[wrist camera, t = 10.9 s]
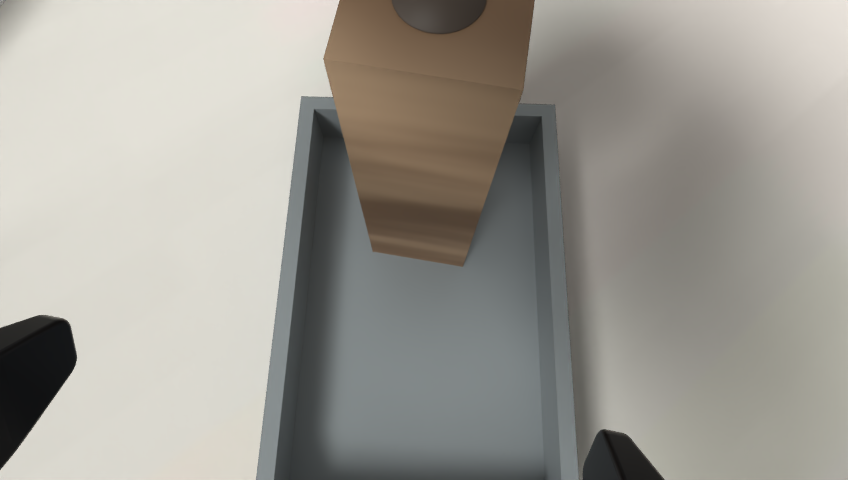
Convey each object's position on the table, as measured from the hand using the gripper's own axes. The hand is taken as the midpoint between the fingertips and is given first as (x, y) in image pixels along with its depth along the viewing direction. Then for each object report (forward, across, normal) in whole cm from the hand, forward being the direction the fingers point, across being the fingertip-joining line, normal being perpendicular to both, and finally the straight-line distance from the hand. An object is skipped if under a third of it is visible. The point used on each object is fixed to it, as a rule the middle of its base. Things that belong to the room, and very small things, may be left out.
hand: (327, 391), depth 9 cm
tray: (+12, -1, +6) cm, 14 cm away
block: (+15, 0, +3) cm, 15 cm away
